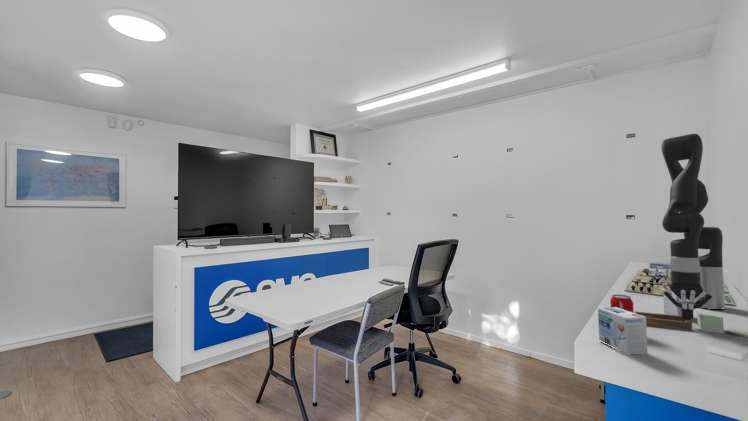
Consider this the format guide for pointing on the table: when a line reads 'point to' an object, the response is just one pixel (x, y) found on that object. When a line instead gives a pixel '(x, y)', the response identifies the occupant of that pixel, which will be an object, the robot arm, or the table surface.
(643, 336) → the light bulb box
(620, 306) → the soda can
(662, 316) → the walnut chute
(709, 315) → the sage block
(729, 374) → the table surface
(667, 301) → the medicine box
